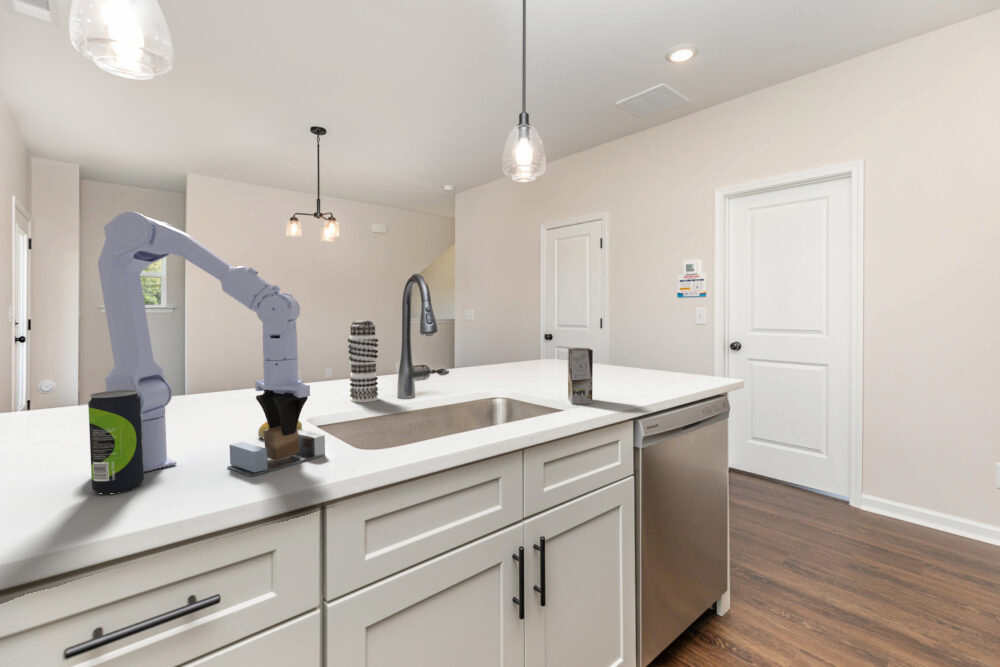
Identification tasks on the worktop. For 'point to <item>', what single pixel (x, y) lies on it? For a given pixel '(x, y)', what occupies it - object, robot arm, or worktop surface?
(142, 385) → the robot arm
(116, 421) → the beverage can
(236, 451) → the sliding jaw
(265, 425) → the bread roll
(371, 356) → the decorative candle
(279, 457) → the walnut block
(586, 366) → the coffee box
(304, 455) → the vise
